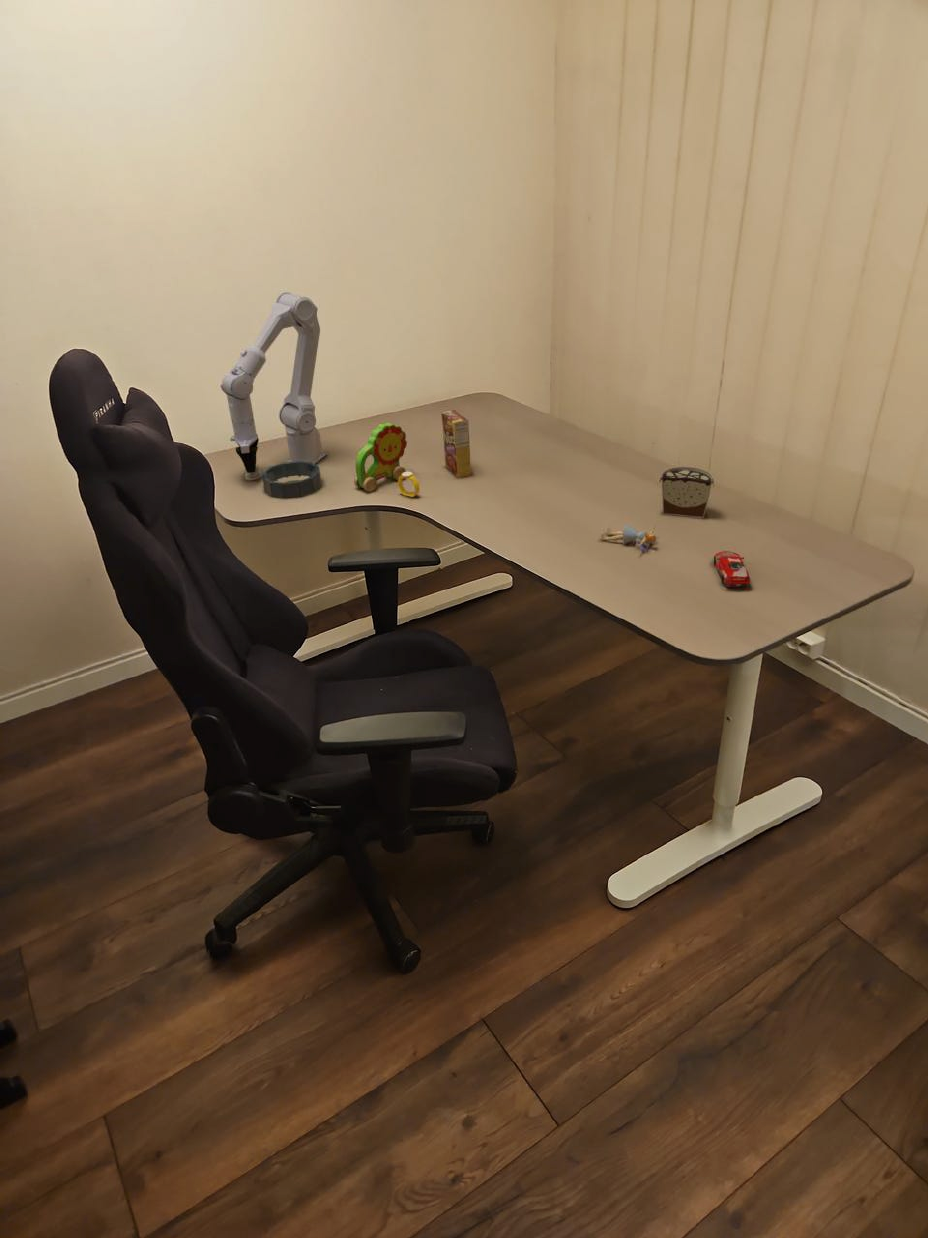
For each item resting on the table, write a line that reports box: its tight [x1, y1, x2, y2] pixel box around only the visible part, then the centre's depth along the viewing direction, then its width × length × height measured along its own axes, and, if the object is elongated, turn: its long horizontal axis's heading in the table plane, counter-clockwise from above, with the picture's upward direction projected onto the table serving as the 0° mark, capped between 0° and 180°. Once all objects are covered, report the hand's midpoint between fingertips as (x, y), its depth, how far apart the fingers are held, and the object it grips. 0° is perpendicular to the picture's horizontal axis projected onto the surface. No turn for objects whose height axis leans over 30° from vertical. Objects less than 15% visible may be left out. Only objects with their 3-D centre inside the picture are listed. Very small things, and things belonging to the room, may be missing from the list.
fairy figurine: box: [600, 524, 657, 553], centre depth 195 cm, size 12×5×12 cm
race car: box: [713, 550, 751, 588], centre depth 181 cm, size 13×5×4 cm, turn 177°
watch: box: [397, 471, 420, 498], centre depth 221 cm, size 6×3×6 cm, turn 53°
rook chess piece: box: [243, 465, 262, 482], centre depth 235 cm, size 4×4×8 cm
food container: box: [659, 466, 715, 519], centre depth 206 cm, size 12×6×10 cm, turn 71°
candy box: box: [441, 409, 472, 479], centre depth 231 cm, size 9×4×15 cm, turn 23°
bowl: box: [261, 461, 322, 499], centre depth 230 cm, size 15×15×4 cm
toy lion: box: [353, 422, 408, 493], centre depth 227 cm, size 16×5×15 cm, turn 135°
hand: (251, 469), depth 236 cm, fingers closed on rook chess piece, 3 cm apart
